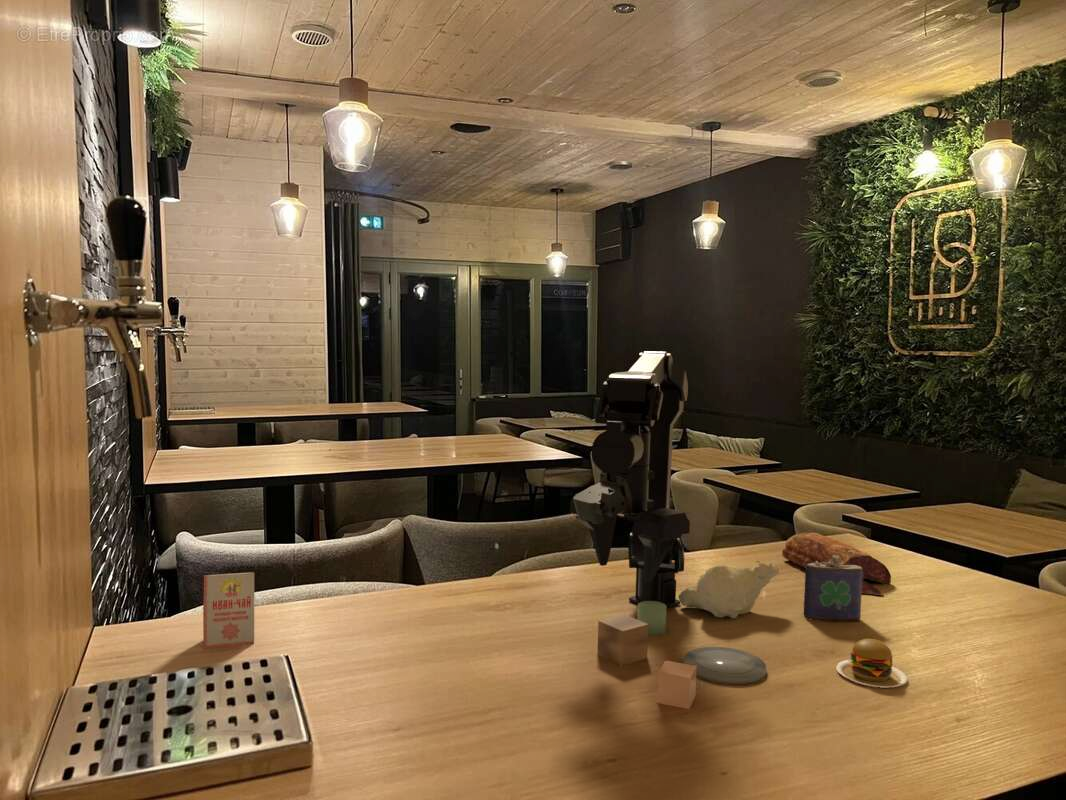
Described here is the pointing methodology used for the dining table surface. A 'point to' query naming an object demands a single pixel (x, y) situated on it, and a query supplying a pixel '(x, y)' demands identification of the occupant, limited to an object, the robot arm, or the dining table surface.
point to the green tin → (653, 616)
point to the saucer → (726, 665)
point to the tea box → (228, 610)
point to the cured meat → (823, 548)
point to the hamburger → (871, 663)
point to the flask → (833, 591)
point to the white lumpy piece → (728, 589)
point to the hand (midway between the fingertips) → (625, 572)
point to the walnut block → (622, 639)
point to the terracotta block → (676, 684)
